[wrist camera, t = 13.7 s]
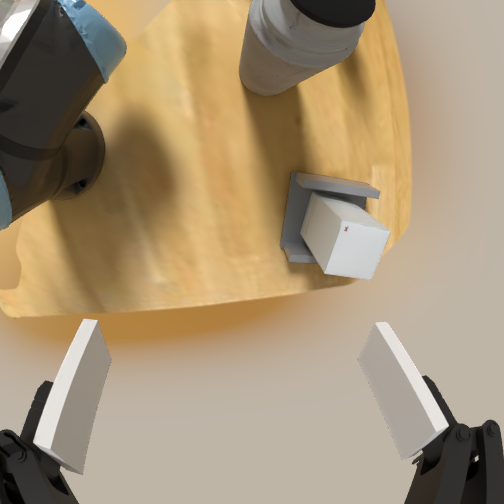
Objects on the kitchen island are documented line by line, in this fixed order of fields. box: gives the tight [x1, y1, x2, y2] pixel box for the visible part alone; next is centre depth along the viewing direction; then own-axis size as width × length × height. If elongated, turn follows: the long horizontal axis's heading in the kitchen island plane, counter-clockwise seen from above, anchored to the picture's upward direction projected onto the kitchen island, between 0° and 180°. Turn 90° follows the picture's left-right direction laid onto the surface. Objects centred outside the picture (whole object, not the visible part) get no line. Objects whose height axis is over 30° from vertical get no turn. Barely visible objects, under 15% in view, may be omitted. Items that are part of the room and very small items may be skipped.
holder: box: [280, 171, 380, 264], centre depth 41 cm, size 13×12×6 cm
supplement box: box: [300, 191, 391, 280], centre depth 37 cm, size 7×7×13 cm
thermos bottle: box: [239, 0, 376, 96], centre depth 21 cm, size 8×8×28 cm
